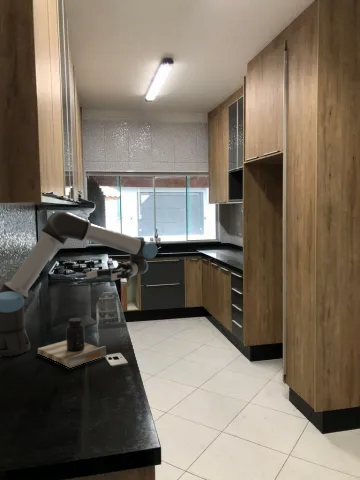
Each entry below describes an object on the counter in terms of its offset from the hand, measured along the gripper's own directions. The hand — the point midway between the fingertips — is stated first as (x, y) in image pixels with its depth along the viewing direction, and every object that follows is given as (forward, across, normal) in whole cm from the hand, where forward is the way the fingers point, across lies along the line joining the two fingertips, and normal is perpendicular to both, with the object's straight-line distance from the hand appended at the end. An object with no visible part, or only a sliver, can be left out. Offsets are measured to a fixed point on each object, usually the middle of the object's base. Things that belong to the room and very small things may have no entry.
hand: (99, 276), depth 169 cm
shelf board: (+21, -2, -28) cm, 35 cm away
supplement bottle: (+20, -4, -26) cm, 33 cm away
